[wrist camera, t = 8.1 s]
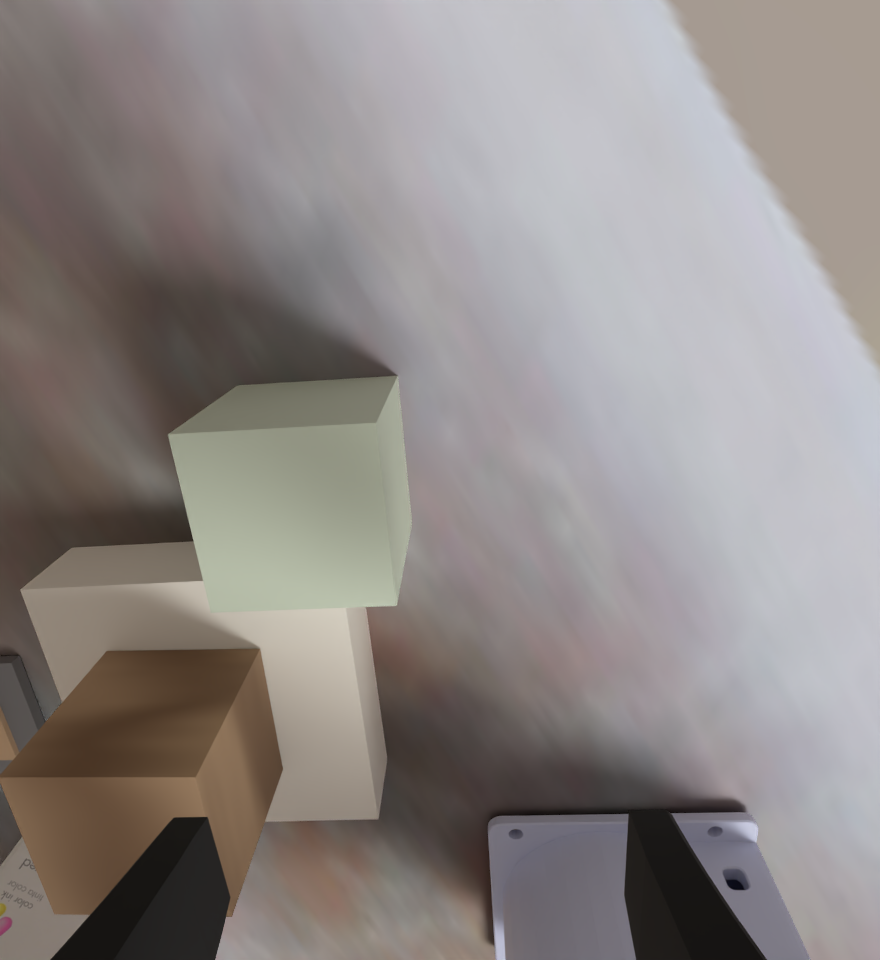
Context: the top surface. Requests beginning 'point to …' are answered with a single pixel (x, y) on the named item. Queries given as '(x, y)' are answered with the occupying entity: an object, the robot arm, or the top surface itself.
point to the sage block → (298, 494)
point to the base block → (191, 626)
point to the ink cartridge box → (29, 912)
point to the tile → (16, 710)
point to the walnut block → (146, 768)
